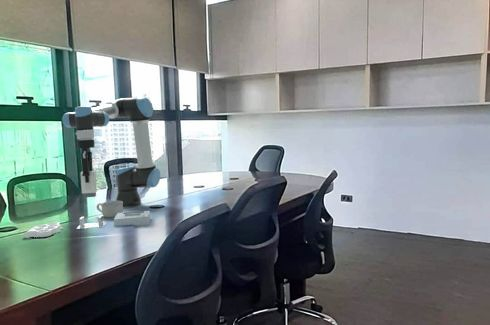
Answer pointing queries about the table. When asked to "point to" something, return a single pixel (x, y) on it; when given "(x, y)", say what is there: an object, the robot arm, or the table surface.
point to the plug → (93, 189)
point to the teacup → (111, 208)
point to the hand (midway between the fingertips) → (89, 188)
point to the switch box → (132, 218)
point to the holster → (91, 225)
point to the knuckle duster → (43, 230)
